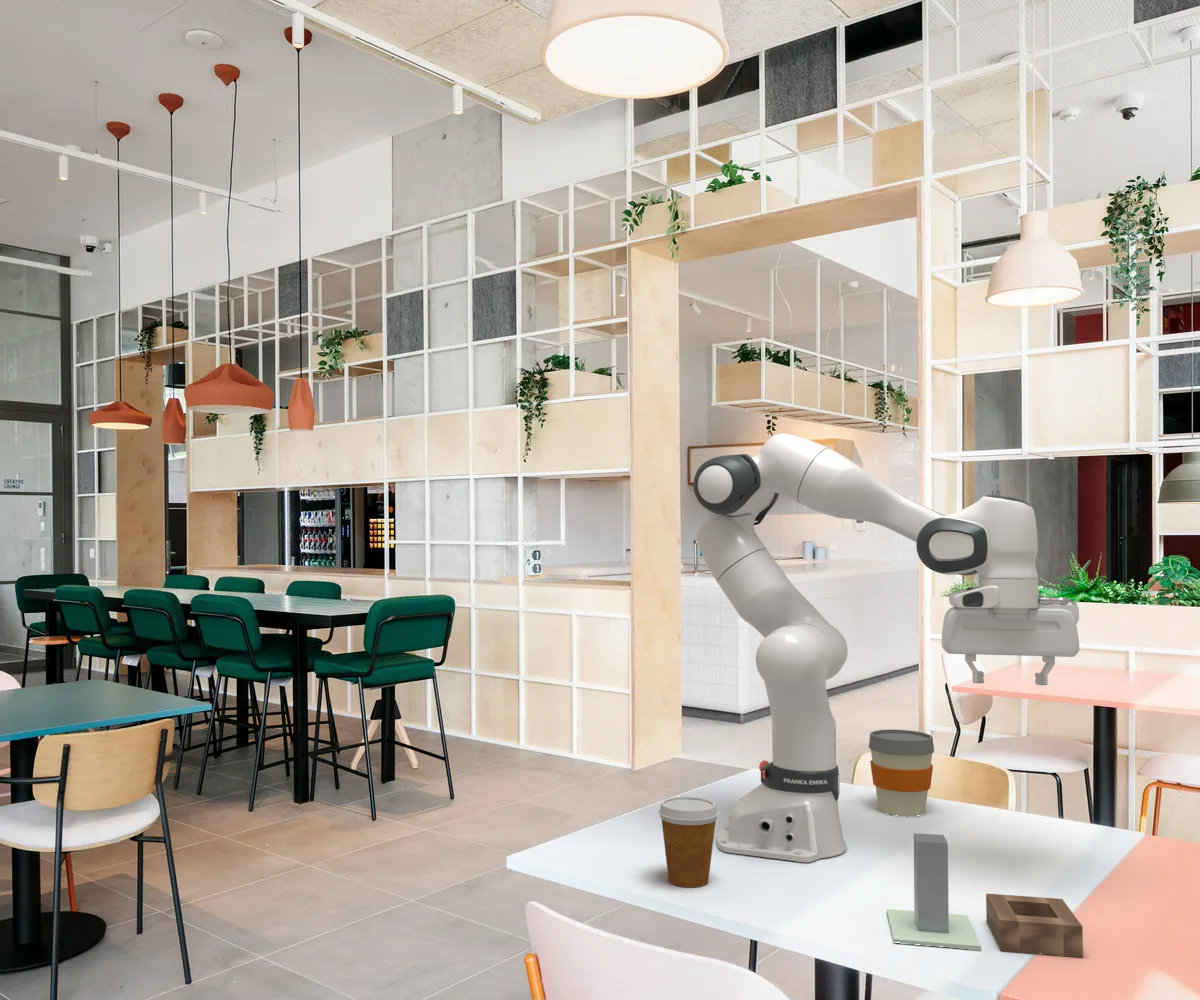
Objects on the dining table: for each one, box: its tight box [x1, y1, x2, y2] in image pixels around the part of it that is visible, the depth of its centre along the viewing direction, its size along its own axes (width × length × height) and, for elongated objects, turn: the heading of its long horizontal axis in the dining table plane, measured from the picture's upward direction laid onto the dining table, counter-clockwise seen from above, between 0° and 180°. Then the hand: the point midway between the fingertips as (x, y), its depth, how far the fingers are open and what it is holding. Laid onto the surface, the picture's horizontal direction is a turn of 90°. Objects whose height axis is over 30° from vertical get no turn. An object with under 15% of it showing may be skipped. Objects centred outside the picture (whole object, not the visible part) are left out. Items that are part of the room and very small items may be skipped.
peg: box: [913, 832, 950, 933], centre depth 135 cm, size 4×4×12 cm
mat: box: [886, 908, 982, 952], centre depth 135 cm, size 11×11×1 cm
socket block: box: [985, 893, 1084, 959], centre depth 132 cm, size 10×10×4 cm
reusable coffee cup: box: [868, 729, 935, 817], centre depth 196 cm, size 13×12×15 cm
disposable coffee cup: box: [657, 796, 720, 888], centre depth 155 cm, size 10×10×12 cm
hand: (1009, 683), depth 156 cm, fingers open, 8 cm apart
